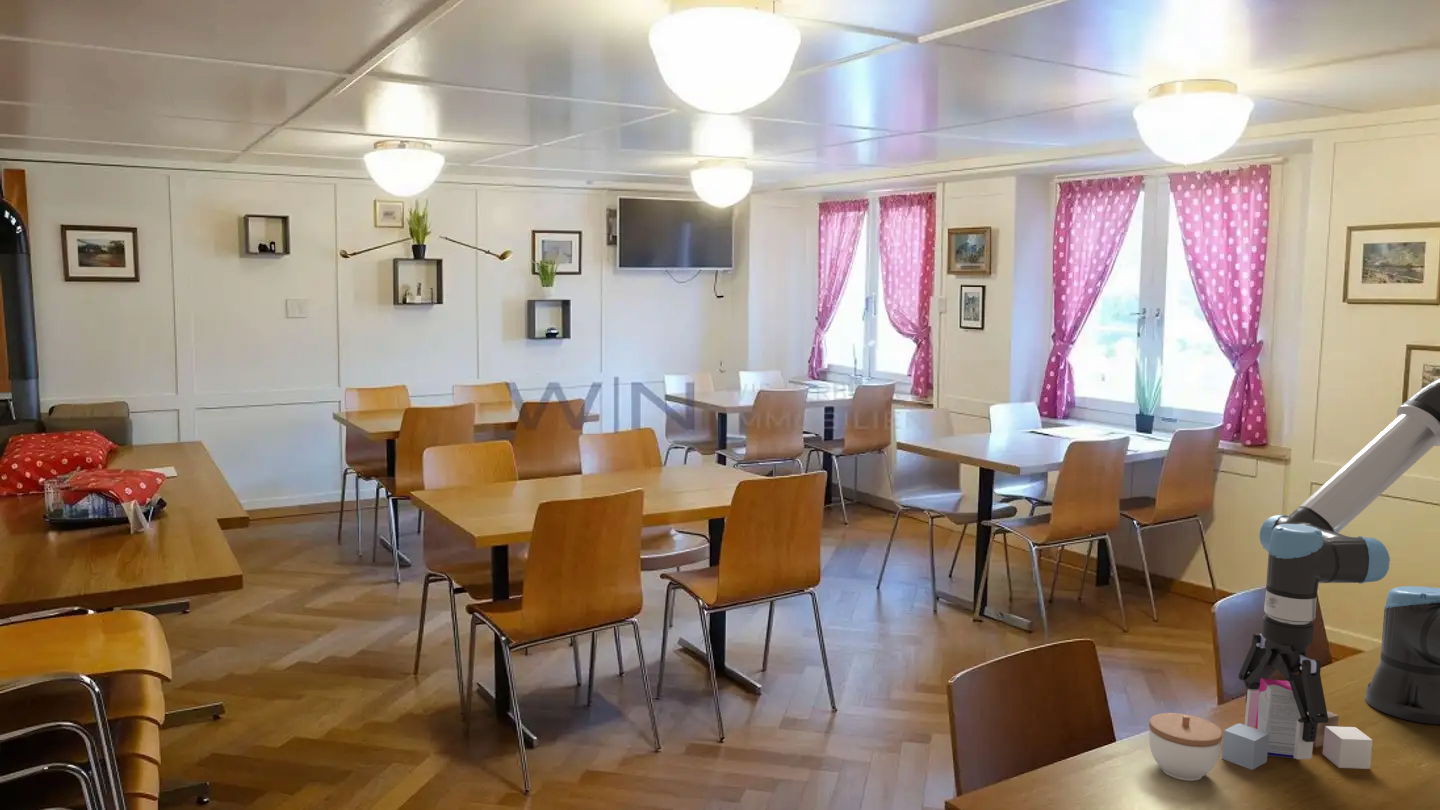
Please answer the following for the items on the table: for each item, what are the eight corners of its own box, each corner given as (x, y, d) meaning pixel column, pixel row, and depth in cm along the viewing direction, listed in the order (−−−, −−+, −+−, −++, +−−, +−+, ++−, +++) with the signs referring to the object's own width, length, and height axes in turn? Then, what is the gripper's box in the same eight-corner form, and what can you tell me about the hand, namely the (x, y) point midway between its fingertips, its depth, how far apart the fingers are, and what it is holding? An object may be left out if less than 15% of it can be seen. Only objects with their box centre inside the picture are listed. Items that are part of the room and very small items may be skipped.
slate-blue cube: (1236, 751, 178) (1238, 722, 178) (1266, 762, 174) (1269, 733, 174) (1221, 759, 175) (1224, 730, 175) (1252, 770, 171) (1254, 741, 171)
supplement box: (1301, 759, 175) (1307, 693, 174) (1262, 755, 177) (1268, 689, 175) (1289, 744, 181) (1295, 680, 180) (1252, 740, 182) (1258, 677, 181)
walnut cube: (1310, 731, 187) (1312, 704, 186) (1336, 743, 182) (1338, 715, 182) (1290, 735, 185) (1292, 708, 184) (1315, 747, 180) (1318, 719, 180)
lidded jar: (1221, 767, 172) (1226, 712, 171) (1214, 794, 163) (1219, 736, 162) (1151, 751, 177) (1155, 697, 176) (1140, 776, 168) (1145, 720, 167)
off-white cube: (1352, 755, 178) (1355, 727, 177) (1369, 769, 173) (1372, 740, 172) (1322, 754, 178) (1325, 726, 177) (1338, 768, 173) (1341, 738, 172)
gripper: (1223, 596, 187) (1213, 712, 190) (1319, 643, 164) (1305, 775, 166) (1262, 595, 189) (1251, 711, 191) (1362, 642, 165) (1348, 773, 167)
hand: (1276, 741), depth 179 cm, fingers open, 12 cm apart
